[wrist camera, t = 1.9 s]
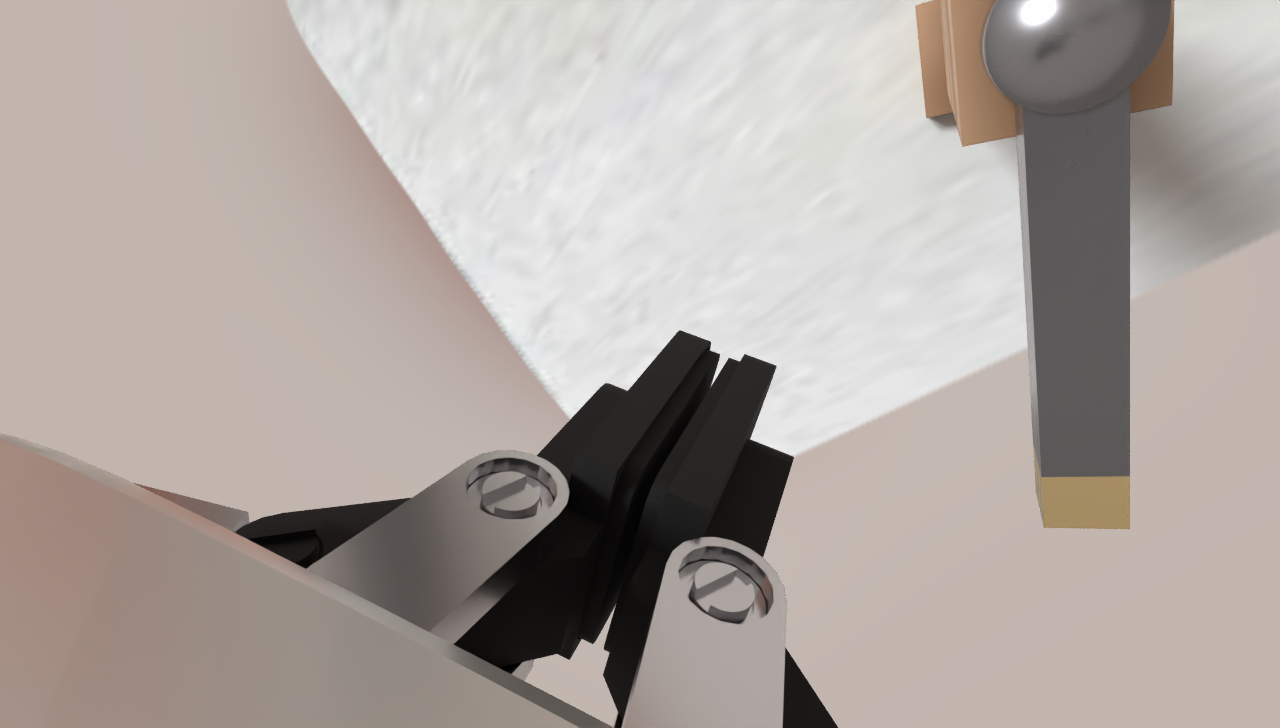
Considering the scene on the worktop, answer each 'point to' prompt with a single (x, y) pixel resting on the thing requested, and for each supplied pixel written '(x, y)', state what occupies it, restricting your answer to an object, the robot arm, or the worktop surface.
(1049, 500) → the latch bar
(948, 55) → the post
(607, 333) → the worktop surface
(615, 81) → the worktop surface
